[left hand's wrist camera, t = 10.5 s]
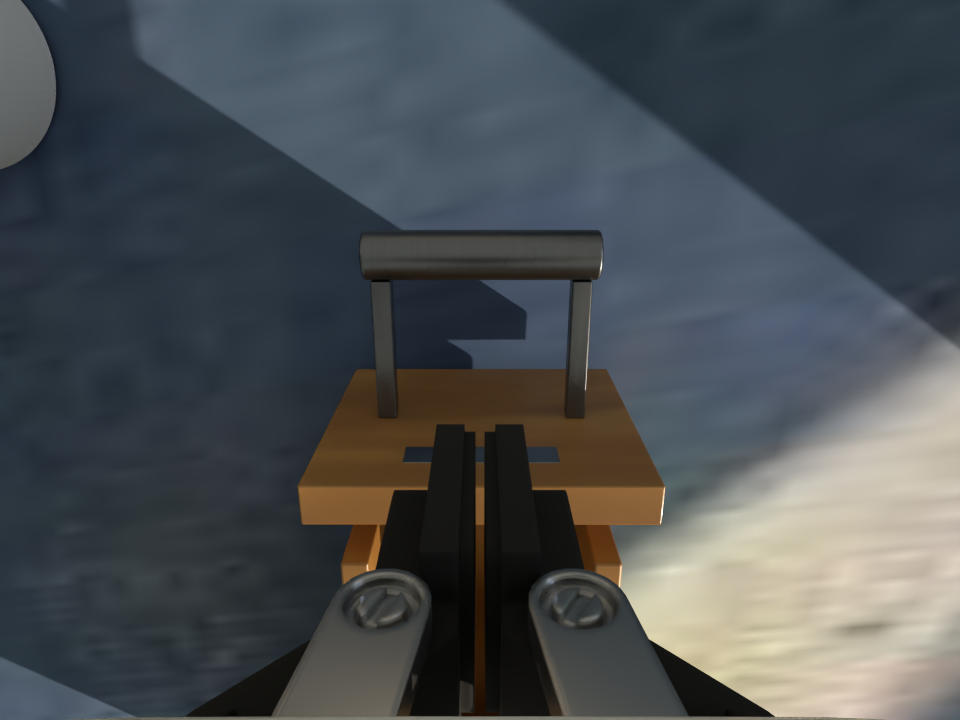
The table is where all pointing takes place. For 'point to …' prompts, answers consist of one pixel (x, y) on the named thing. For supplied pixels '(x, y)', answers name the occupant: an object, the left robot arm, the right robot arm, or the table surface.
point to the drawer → (482, 409)
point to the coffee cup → (23, 83)
